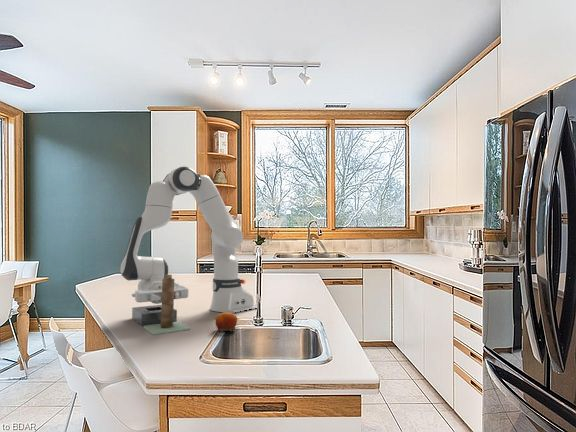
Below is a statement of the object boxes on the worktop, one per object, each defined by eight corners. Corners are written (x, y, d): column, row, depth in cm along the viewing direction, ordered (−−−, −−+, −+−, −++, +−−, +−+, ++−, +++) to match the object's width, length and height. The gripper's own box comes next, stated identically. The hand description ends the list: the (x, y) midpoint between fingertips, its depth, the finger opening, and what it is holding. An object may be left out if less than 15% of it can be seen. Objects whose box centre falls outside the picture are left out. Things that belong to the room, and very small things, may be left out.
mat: (179, 322, 170) (179, 321, 170) (190, 329, 160) (190, 328, 160) (143, 327, 162) (143, 325, 162) (152, 334, 152) (153, 333, 152)
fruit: (217, 331, 153) (216, 309, 157) (215, 337, 159) (214, 316, 163) (239, 330, 155) (238, 308, 159) (236, 336, 161) (235, 315, 165)
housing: (165, 314, 184) (165, 304, 184) (176, 321, 172) (176, 310, 172) (132, 318, 176) (132, 307, 176) (141, 325, 165) (141, 314, 165)
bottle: (170, 325, 164) (172, 274, 164) (174, 327, 160) (176, 275, 161) (159, 326, 162) (160, 274, 162) (162, 328, 158) (164, 275, 158)
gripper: (130, 286, 166) (139, 291, 155) (181, 282, 177) (193, 287, 166) (130, 302, 166) (139, 309, 155) (180, 297, 177) (193, 303, 166)
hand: (168, 297), depth 160 cm, fingers open, 6 cm apart
